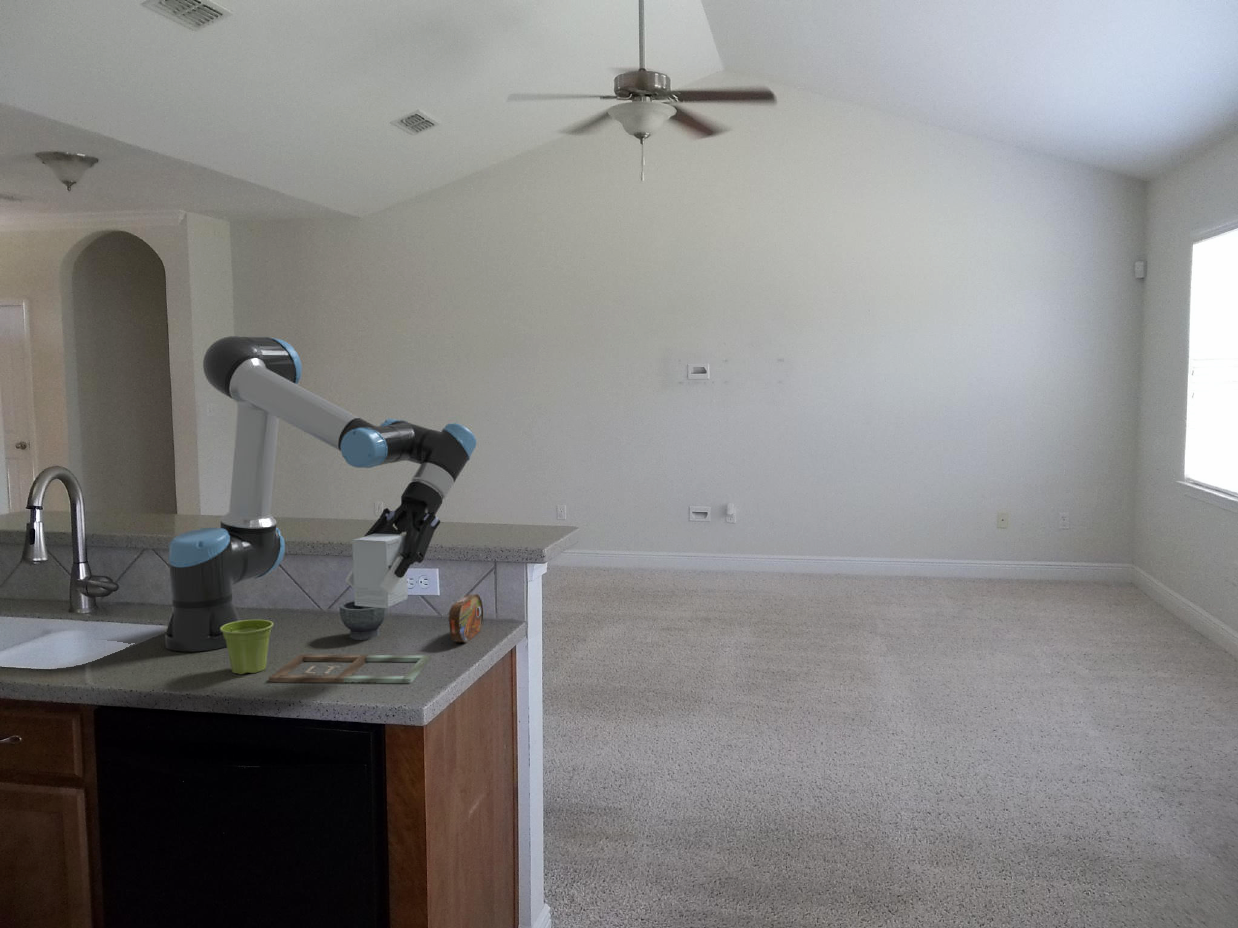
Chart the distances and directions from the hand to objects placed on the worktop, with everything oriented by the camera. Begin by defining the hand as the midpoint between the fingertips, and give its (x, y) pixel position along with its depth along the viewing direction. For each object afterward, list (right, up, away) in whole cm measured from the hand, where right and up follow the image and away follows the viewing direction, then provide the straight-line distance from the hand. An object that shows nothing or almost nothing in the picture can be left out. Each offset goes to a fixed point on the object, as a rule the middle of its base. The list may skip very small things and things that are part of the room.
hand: (367, 587), depth 177 cm
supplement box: (+2, -4, +3) cm, 5 cm away
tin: (+14, -14, +27) cm, 33 cm away
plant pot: (-24, -17, +6) cm, 30 cm away
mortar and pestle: (-8, -14, +29) cm, 33 cm away
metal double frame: (-3, -16, +5) cm, 17 cm away
